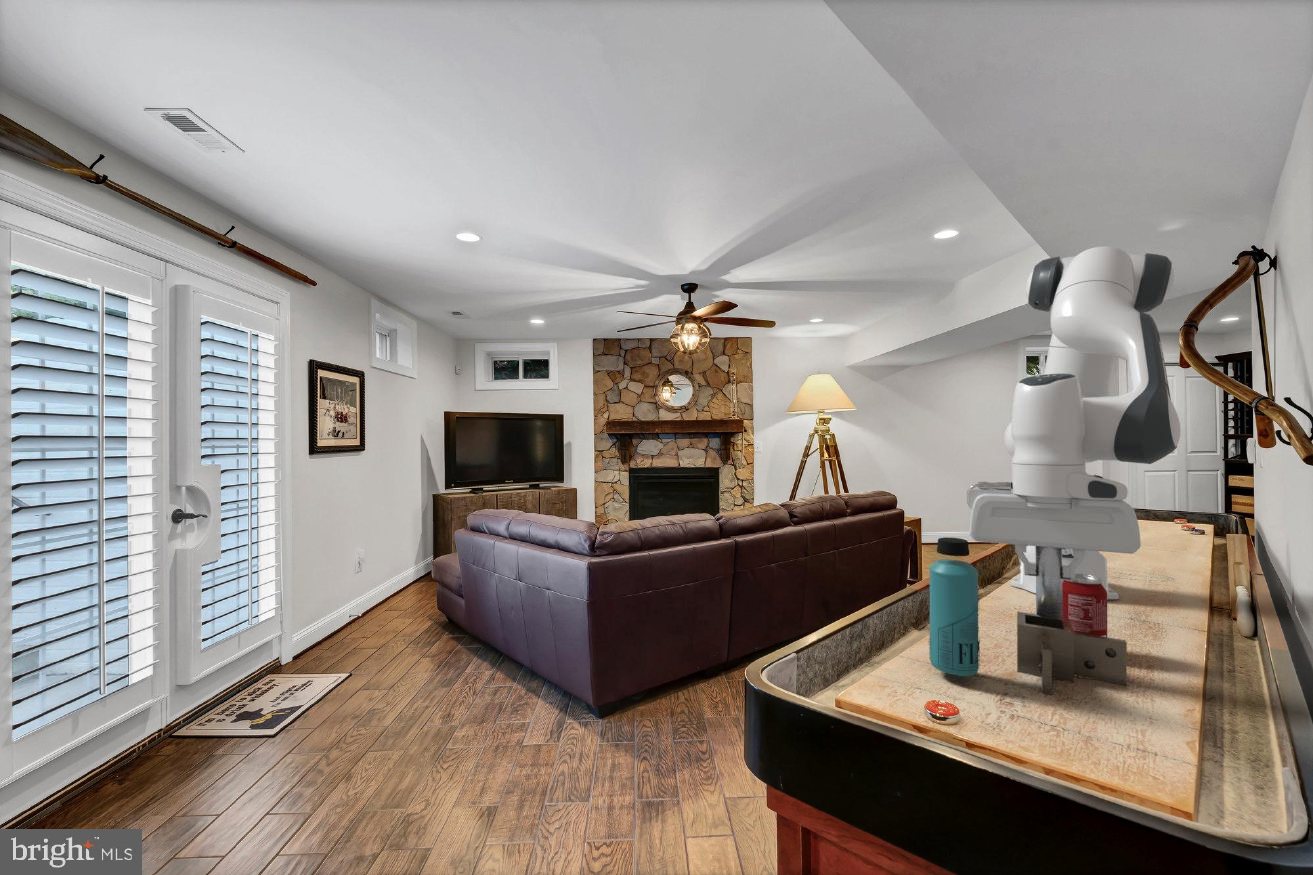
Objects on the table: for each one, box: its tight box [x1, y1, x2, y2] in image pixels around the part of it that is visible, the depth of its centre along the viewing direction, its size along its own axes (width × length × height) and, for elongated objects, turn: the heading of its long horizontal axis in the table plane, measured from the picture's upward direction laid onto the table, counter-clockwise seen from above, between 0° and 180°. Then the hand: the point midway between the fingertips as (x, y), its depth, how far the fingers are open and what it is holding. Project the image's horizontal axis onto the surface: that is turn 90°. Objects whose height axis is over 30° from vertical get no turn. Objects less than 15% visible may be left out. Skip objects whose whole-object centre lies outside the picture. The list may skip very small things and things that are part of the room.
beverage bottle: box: [928, 536, 981, 677], centre depth 78 cm, size 6×7×20 cm
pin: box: [1035, 546, 1063, 619], centre depth 80 cm, size 3×3×12 cm
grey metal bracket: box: [1016, 611, 1128, 696], centre depth 76 cm, size 13×13×7 cm
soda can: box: [1063, 573, 1108, 637], centre depth 86 cm, size 7×7×12 cm
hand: (1049, 577), depth 80 cm, fingers closed on pin, 3 cm apart
